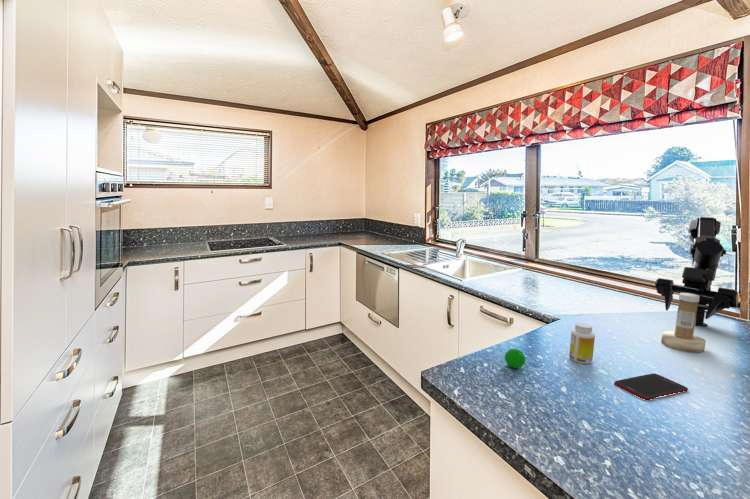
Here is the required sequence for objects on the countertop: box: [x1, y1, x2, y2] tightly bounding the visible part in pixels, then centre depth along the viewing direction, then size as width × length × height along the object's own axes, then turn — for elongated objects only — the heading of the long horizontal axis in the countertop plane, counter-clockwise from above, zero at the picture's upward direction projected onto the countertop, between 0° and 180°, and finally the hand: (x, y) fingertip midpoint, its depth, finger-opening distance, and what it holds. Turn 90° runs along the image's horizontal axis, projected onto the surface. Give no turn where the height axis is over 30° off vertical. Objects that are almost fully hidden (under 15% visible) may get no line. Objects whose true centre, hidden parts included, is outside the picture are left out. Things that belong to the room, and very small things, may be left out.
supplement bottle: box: [568, 322, 596, 365], centre depth 96 cm, size 6×6×10 cm
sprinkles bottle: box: [674, 292, 700, 339], centre depth 106 cm, size 5×5×14 cm
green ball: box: [504, 348, 526, 369], centre depth 92 cm, size 5×5×5 cm
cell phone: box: [614, 373, 689, 401], centre depth 83 cm, size 8×15×1 cm, turn 108°
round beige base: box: [660, 330, 707, 354], centre depth 106 cm, size 10×10×3 cm
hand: (685, 313), depth 104 cm, fingers open, 9 cm apart
